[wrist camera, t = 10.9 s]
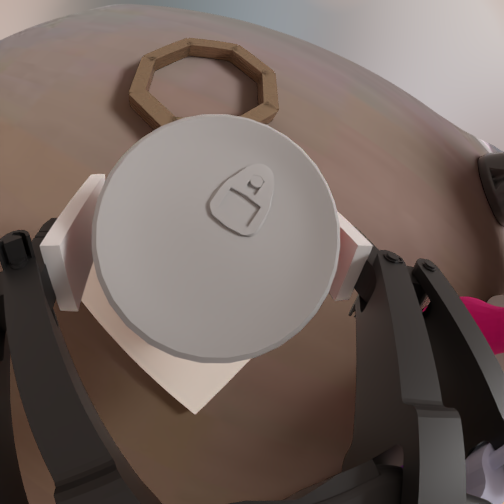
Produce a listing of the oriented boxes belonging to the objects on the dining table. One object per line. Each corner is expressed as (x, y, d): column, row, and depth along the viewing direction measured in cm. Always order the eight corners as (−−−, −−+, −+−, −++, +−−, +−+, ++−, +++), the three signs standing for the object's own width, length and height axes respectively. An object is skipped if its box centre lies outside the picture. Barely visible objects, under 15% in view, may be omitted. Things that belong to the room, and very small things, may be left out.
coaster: (197, 148, 21) (199, 142, 20) (317, 275, 22) (324, 274, 21) (59, 265, 16) (54, 263, 15) (193, 409, 17) (195, 414, 16)
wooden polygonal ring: (212, 38, 24) (215, 28, 23) (296, 106, 25) (303, 96, 23) (109, 85, 20) (107, 73, 18) (195, 173, 20) (198, 163, 19)
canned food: (261, 234, 20) (353, 162, 10) (231, 345, 18) (313, 388, 7) (159, 199, 18) (157, 85, 8) (120, 311, 16) (53, 315, 6)
